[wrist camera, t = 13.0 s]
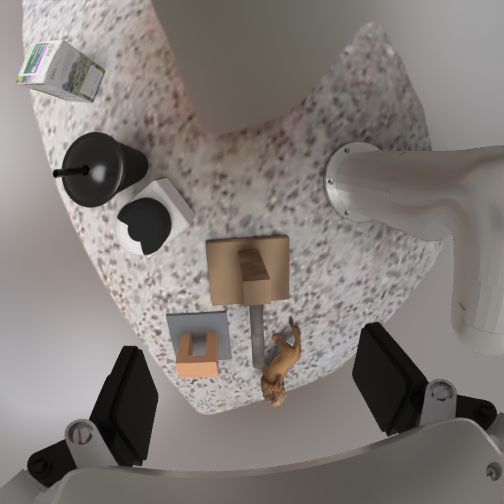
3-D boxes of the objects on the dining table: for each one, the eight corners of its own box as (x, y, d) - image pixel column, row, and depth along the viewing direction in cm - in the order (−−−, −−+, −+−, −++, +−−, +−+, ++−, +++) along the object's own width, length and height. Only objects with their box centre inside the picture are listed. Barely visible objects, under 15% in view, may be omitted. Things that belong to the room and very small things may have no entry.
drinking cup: (120, 201, 36) (43, 236, 17) (103, 155, 34) (16, 157, 15) (165, 179, 36) (108, 195, 17) (146, 132, 34) (78, 107, 15)
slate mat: (226, 310, 44) (226, 312, 43) (231, 357, 47) (231, 359, 46) (166, 314, 43) (166, 316, 42) (177, 359, 46) (177, 361, 45)
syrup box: (78, 69, 28) (30, 42, 15) (107, 70, 29) (61, 38, 16) (67, 100, 30) (12, 84, 16) (94, 103, 31) (42, 83, 17)
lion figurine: (278, 377, 50) (287, 411, 41) (253, 375, 49) (258, 409, 40) (303, 317, 46) (319, 349, 37) (274, 313, 45) (285, 345, 36)
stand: (286, 235, 41) (310, 263, 29) (286, 322, 45) (304, 368, 34) (206, 240, 40) (199, 271, 28) (216, 329, 44) (215, 378, 33)
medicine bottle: (167, 176, 36) (142, 181, 25) (196, 215, 38) (185, 236, 27) (130, 206, 37) (96, 224, 25) (159, 243, 39) (136, 275, 28)
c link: (216, 331, 44) (215, 361, 36) (218, 344, 45) (218, 376, 37) (181, 332, 43) (175, 363, 36) (184, 346, 44) (179, 377, 37)
